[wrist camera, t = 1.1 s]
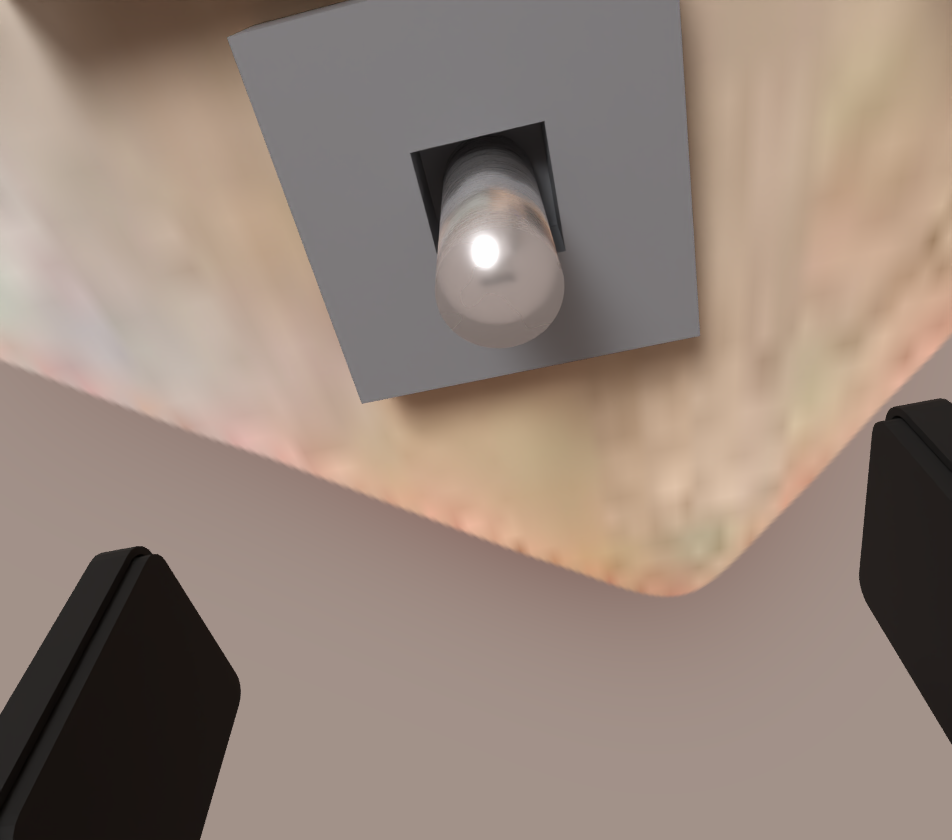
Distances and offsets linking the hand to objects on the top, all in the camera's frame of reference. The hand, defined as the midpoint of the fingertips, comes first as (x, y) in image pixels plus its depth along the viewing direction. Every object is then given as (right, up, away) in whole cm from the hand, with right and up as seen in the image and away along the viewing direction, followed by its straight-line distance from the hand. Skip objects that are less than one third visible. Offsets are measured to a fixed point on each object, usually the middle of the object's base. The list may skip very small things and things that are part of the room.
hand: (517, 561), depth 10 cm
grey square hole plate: (0, +10, +15) cm, 18 cm away
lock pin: (0, +10, +15) cm, 18 cm away
